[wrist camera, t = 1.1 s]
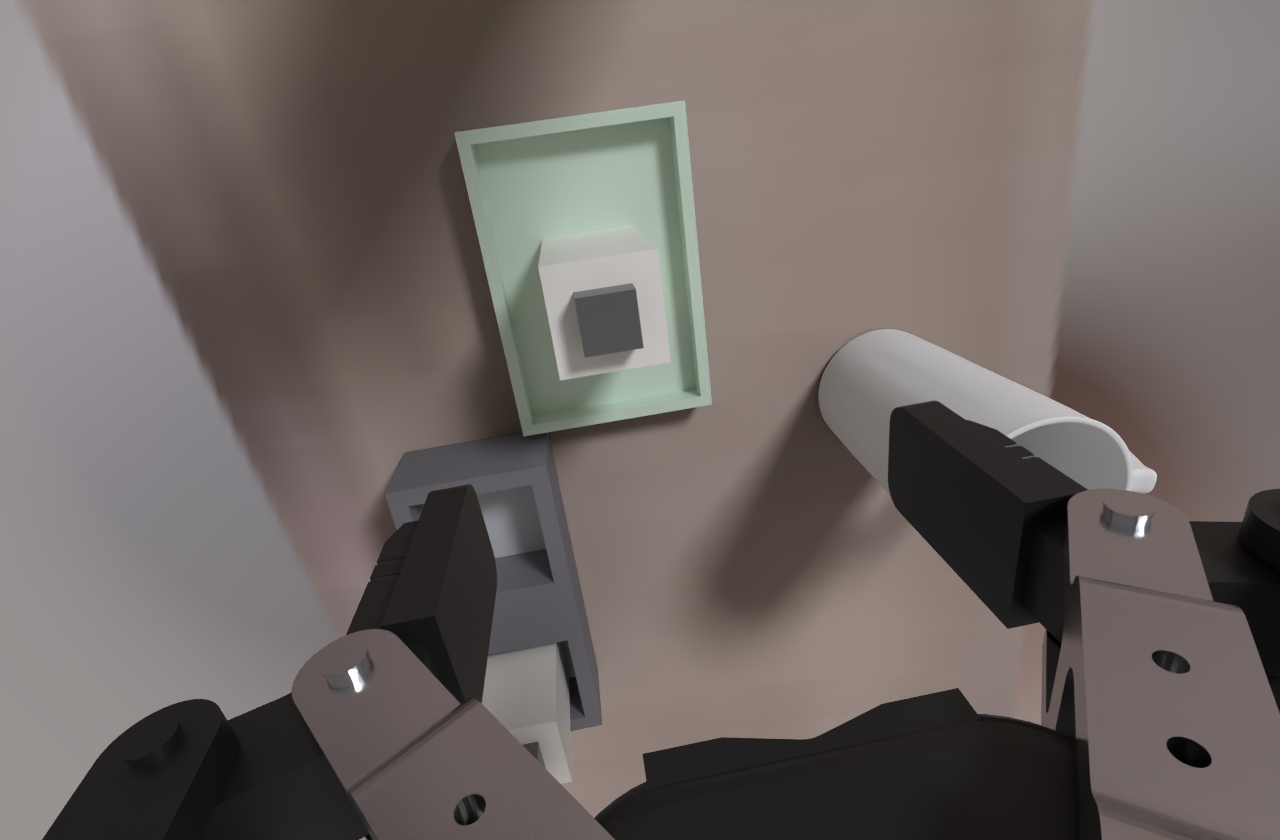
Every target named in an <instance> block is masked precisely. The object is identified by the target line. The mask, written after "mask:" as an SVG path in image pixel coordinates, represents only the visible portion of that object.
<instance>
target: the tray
mask: <svg viewBox="0 0 1280 840" xmlns="http://www.w3.org/2000/svg"><path fill="white" fill-rule="evenodd" d="M454 134H455V139H456V143H457V147H458V152H459V156H460V160H461V165H462V169H463V174H464V178H465V182H466V187H467V191H468V195H469V200H470V204H471V209H472V213H473V217H474V222H475V226H476V231H477V235H478V239H479V244H480V248H481V252H482V257H483V261H484V266H485V270H486V274H487V279H488V283H489V287H490V292H491V296H492V301H493V305H494V309H495V314H496V318H497V322H498V327H499V331H500V336H501V340H502V344H503V349H504V353H505V357H506V362H507V366H508V371H509V375H510V379H511V384H512V388H513V392H514V397H515V401H516V406H517V410H518V414H519V419H520V423H521V428H522V432H523V436H529V435H535V434H541V433H547V432H553V431H559V430H565V429H571V428H577V427H582V426H588V425H594V424H600V423H606V422H612V421H618V420H624V419H630V418H636V417H641V416H647V415H653V414H659V413H665V412H671V411H677V410H683V409H689V408H695V407H701V406H706V405H712V400H711V389H710V377H709V366H708V355H707V344H706V332H705V321H704V310H703V299H702V287H701V276H700V265H699V254H698V242H697V231H696V220H695V209H694V197H693V186H692V175H691V163H690V152H689V141H688V130H687V118H686V107H685V100H684V101H677V102H670V103H663V104H655V105H648V106H641V107H634V108H626V109H619V110H612V111H605V112H598V113H590V114H583V115H576V116H569V117H561V118H554V119H547V120H540V121H533V122H525V123H518V124H511V125H504V126H496V127H489V128H482V129H475V130H468V131H460V132H454ZM628 226H635V227H636V228H637V229H638V230H639V231H640V232H641V233H642V234H643V235H644V236H645V237H646V238H648V239H649V240H650V241H651V242H652V243H653V244H654V245H655V246H656V247H657V248H658V252H659V261H660V270H661V279H662V287H663V296H664V305H665V313H666V322H667V331H668V340H669V348H670V357H671V362H669V363H663V364H657V365H651V366H645V367H639V368H633V369H626V370H620V371H614V372H608V373H602V374H596V375H590V376H584V377H578V378H572V379H566V380H560V377H559V372H558V367H557V362H556V356H555V351H554V346H553V341H552V336H551V331H550V325H549V320H548V315H547V310H546V305H545V300H544V294H543V289H542V284H541V279H540V274H539V269H538V264H539V258H540V251H541V244H542V239H548V238H554V237H561V236H568V235H574V234H581V233H588V232H594V231H601V230H608V229H614V228H621V227H628Z"/></svg>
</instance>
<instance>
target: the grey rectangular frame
mask: <svg viewBox="0 0 1280 840" xmlns="http://www.w3.org/2000/svg"><path fill="white" fill-rule="evenodd" d="M468 484H471V485H472V486H473V488H474V490H475V492H476V494H477V498H478V501H479V504H480V508H481V511H482V515H483V518H484V522H485V525H486V528H487V532H488V535H489V539H490V542H491V545H492V549H493V552H494V557H495V562H496V569H497V591H496V598H495V606H494V613H493V621H492V629H491V636H490V644H489V652H488V655H492V654H498V653H503V652H508V651H514V650H519V649H524V648H529V647H535V646H540V645H545V644H550V643H556V642H561V641H562V642H563V646H564V650H565V655H566V659H567V663H568V667H569V695H570V731H573V730H578V729H583V728H588V727H593V726H598V725H602V716H601V704H600V691H599V679H598V668H597V663H596V658H595V654H594V649H593V644H592V639H591V635H590V630H589V625H588V620H587V616H586V611H585V606H584V601H583V596H582V592H581V587H580V582H579V577H578V573H577V568H576V563H575V558H574V554H573V549H572V544H571V539H570V535H569V530H568V525H567V520H566V515H565V511H564V506H563V501H562V496H561V492H560V487H559V482H558V477H557V473H556V468H555V463H554V458H553V454H552V449H551V444H550V439H549V435H548V432H547V433H541V434H535V435H529V436H523V433H518V434H512V435H507V436H501V437H495V438H489V439H483V440H477V441H471V442H465V443H459V444H453V445H447V446H441V447H436V448H430V449H424V450H418V451H412V452H406V453H404V455H403V457H402V459H401V461H400V463H399V465H398V467H397V469H396V471H395V473H394V475H393V477H392V479H391V481H390V483H389V485H388V487H387V489H386V491H385V493H384V495H385V498H386V501H387V504H388V506H389V509H390V512H391V515H392V518H393V521H394V524H395V527H396V530H398V529H399V528H400V527H401V526H402V525H403V524H404V523H407V522H413V521H418V520H419V518H420V515H421V512H422V510H423V507H424V504H425V501H426V498H427V496H428V493H429V492H430V491H435V490H441V489H446V488H451V487H457V486H462V485H468Z"/></svg>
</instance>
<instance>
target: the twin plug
mask: <svg viewBox="0 0 1280 840" xmlns="http://www.w3.org/2000/svg"><path fill="white" fill-rule="evenodd" d="M482 704H483V705H484V706H485V707H486V708H487V709H488V710H489V711H490V712H491V713H492V714H493V715H494V717H495V718H496V719H497V720H498V721H499V722H500V723H501V724H502V725H503V726H504V727H505V728H506V729H507V730H508V731H509V732H510V733H511V734H512V735H513V736H514V737H515V738H516V739H517V740H518V741H519V742H520V743H521V744H522V745H523V746H524V747H525V748H526V749H527V750H528V751H529V752H530V753H531V754H532V755H533V756H534V757H535V758H536V759H537V760H538V761H539V762H540V763H541V765H542V766H543V767H544V768H545V769H546V770H547V771H548V772H549V773H550V774H551V775H552V776H553V777H554V778H555V779H556V780H557V781H558V782H559V783H560V784H563V783H568V782H572V773H571V734H570V695H569V667H568V663H567V659H566V655H565V650H564V646H563V642H562V641H561V642H556V643H550V644H545V645H540V646H535V647H529V648H524V649H519V650H514V651H508V652H503V653H498V654H492V655H488V659H487V667H486V675H485V682H484V690H483V698H482Z"/></svg>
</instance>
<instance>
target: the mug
mask: <svg viewBox="0 0 1280 840" xmlns="http://www.w3.org/2000/svg"><path fill="white" fill-rule="evenodd" d="M818 401H819V408H820V411H821V414H822V417H823V419H824V421H825V422H826V424H827V425H828V427H829V428H830V429H831V430H832V431H833V433H834V434H835V435H836V436H837V437H838V438H839V439H840V441H841V442H842V443H843V444H844V445H845V447H846V448H847V449H848V450H849V451H850V452H851V453H852V454H853V456H854V457H855V458H856V459H857V460H858V461H859V462H860V463H861V464H862V465H863V466H864V467H865V468H866V470H867V471H868V472H869V473H870V474H871V475H872V476H873V477H874V478H875V479H876V481H877V482H878V483H879V484H880V485H881V486H882V487H883V488H884V489H885V490H886V491H887V493H888V494H889V495H890V491H889V487H888V455H889V425H890V416H891V413H892V411H893V410H894V409H895V408H896V407H901V406H906V405H912V404H917V403H923V402H928V401H938V402H940V403H942V404H943V405H945V406H946V407H948V408H949V409H950V410H952V411H953V412H955V413H956V414H958V415H959V416H961V417H962V418H964V419H965V420H970V421H973V422H976V423H979V424H982V425H985V426H988V427H991V428H994V429H996V430H998V431H1000V432H1001V433H1003V434H1004V435H1006V436H1007V437H1009V438H1010V439H1012V440H1013V441H1015V442H1016V443H1017V446H1022V447H1024V448H1025V449H1027V450H1028V451H1030V452H1032V453H1033V454H1034V457H1039V458H1041V459H1042V460H1044V461H1045V462H1047V463H1048V464H1050V465H1051V466H1053V467H1054V468H1056V469H1057V470H1059V471H1061V472H1062V473H1064V474H1065V475H1067V476H1068V477H1070V478H1071V479H1073V480H1074V481H1076V482H1077V483H1079V484H1080V485H1082V486H1083V487H1085V488H1086V489H1088V490H1092V489H1120V490H1127V491H1133V492H1137V493H1141V494H1144V493H1148V492H1150V491H1151V490H1152V489H1153V487H1154V485H1155V483H1156V479H1157V474H1156V473H1155V471H1153V470H1152V469H1149V468H1147V467H1145V466H1144V465H1143V464H1142V463H1141V462H1140V461H1139V460H1138V459H1137V458H1136V457H1135V456H1134V455H1133V454H1132V453H1131V452H1130V451H1129V450H1128V448H1127V446H1126V445H1125V443H1124V441H1123V440H1122V439H1121V437H1120V436H1119V435H1118V434H1117V433H1116V432H1115V431H1113V430H1112V429H1111V428H1109V427H1108V426H1106V425H1104V424H1103V423H1101V422H1098V421H1096V420H1093V419H1090V418H1088V417H1086V416H1084V415H1082V414H1080V413H1078V412H1076V411H1074V410H1073V409H1071V408H1069V407H1066V406H1065V405H1062V404H1060V403H1058V402H1056V401H1054V400H1052V399H1050V398H1048V397H1045V396H1043V395H1041V394H1039V393H1037V392H1035V391H1032V390H1030V389H1028V388H1026V387H1024V386H1022V385H1020V384H1017V383H1015V382H1013V381H1011V380H1009V379H1007V378H1004V377H1002V376H1000V375H998V374H996V373H994V372H991V371H989V370H987V369H985V368H983V367H981V366H979V365H976V364H974V363H972V362H970V361H968V360H966V359H964V358H961V357H959V356H957V355H955V354H953V353H951V352H949V351H947V350H945V349H943V348H940V347H938V346H936V345H934V344H931V343H929V342H927V341H925V340H923V339H920V338H918V337H916V336H914V335H912V334H909V333H907V332H904V331H900V330H894V329H881V330H875V331H871V332H868V333H865V334H862V335H860V336H858V337H856V338H854V339H853V340H851V341H850V342H848V343H847V344H846V345H844V346H843V347H842V348H841V349H840V350H839V351H838V352H837V353H836V354H835V355H834V356H833V358H832V359H831V360H830V362H829V363H828V365H827V367H826V369H825V371H824V373H823V375H822V378H821V381H820V385H819V392H818ZM890 496H891V495H890Z"/></svg>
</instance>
